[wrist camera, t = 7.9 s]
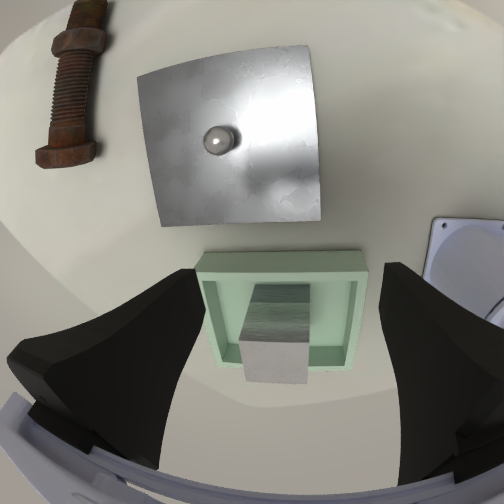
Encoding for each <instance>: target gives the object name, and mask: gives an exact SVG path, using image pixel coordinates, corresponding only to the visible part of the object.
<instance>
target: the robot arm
mask: <svg viewBox="0 0 504 504" xmlns="http://www.w3.org/2000/svg"><path fill="white" fill-rule="evenodd" d="M443 223H445V226H444V227H442V224H443ZM502 226H503V227H502ZM205 313H206V307H205V304H204V300H203V296H202V293H201V289H200V285H199V281H198V278H197V274H196V270H195V269H180V270H178V271H176V272H174V273H172V274H171V275H169V276H167V277H166V278H164V279H163V280H161V281H159V282H158V283H156V284H155V285H153V286H152V287H150V288H149V289H147V290H145V291H144V292H142V293H141V294H139V295H137V296H136V297H134V298H132V299H131V300H129V301H127V302H126V303H124V304H122V305H121V306H119V307H117V308H115V309H113V310H111V311H109V312H107V313H105V314H103V315H101V316H99V317H97V318H95V319H92V320H90V321H87V322H85V323H82V324H80V325H77V326H75V327H72V328H69V329H66V330H63V331H59V332H56V333H52V334H48V335H44V336H39V337H34V338H29V339H24V340H22V341H21V342H20V343H19V344H18V345H17V346H16V347H15V349H13V351H12V352H11V353H10V354H9V355H8V357H7V364H8V365H9V368H10V369H11V371H12V372H13V374H14V375H15V376H16V378H17V379H18V380H19V381H20V383H21V384H22V385H23V386H24V387H25V389H26V390H27V391H28V392H29V393H30V394H31V395H32V397H34V399H35V400H36V402H35V403H34V405H32V404H31V403H30V402H29V401H27V400H26V399H25V398H23V397H22V396H21V395H19V394H18V393H17V392H13V393H12V395H11V396H10V397H9V399H8V400H7V402H6V403H5V404H4V406H3V407H2V409H1V410H0V447H1V449H2V450H3V451H4V452H5V454H6V455H7V456H8V457H9V458H10V460H11V461H12V463H13V464H14V465H15V466H16V468H17V469H18V470H19V471H20V472H21V474H22V475H23V476H24V477H25V479H26V480H27V481H28V482H29V483H30V484H31V485H32V487H33V488H34V489H35V490H36V491H37V492H38V493H39V494H40V495H41V496H42V497H43V498H44V499H45V500H46V501H47V502H48V503H49V504H164V503H162V502H160V501H158V500H156V499H154V498H152V497H150V496H148V495H147V494H145V493H143V492H141V491H138V490H136V489H134V488H131V487H129V486H128V485H127V483H126V481H127V482H129V483H131V484H134V485H136V486H139V487H141V488H144V489H146V490H149V491H152V492H155V493H158V494H160V495H164V496H166V497H170V498H173V499H176V500H179V501H183V502H187V503H190V504H504V221H500V220H482V219H458V218H436V219H435V220H434V221H433V224H432V230H431V237H430V243H429V248H428V254H427V259H426V264H425V269H424V273H423V278H422V277H420V276H419V275H418V274H416V273H415V272H414V271H412V270H411V269H410V268H408V267H407V266H405V265H404V264H402V263H401V262H392V263H385V266H384V274H383V281H382V288H381V295H380V301H379V313H380V320H381V325H382V330H383V334H384V337H385V341H386V344H387V348H388V351H389V355H390V358H391V362H392V365H393V369H394V373H395V377H396V382H397V387H398V396H399V405H400V421H401V454H400V455H401V456H400V468H399V478H398V485H397V486H396V487H391V488H385V489H379V490H373V491H365V492H356V493H345V494H329V495H287V494H269V493H260V492H251V491H243V490H235V489H230V488H224V487H218V486H213V485H208V484H204V483H199V482H194V481H191V480H187V479H183V478H179V477H176V476H172V475H169V474H165V473H162V472H159V471H156V470H158V469H159V459H160V453H161V446H162V440H163V435H164V430H165V426H166V421H167V417H168V413H169V409H170V405H171V402H172V398H173V395H174V392H175V388H176V385H177V382H178V380H179V377H180V375H181V372H182V370H183V368H184V366H185V363H186V361H187V359H188V357H189V355H190V353H191V350H192V348H193V346H194V344H195V342H196V339H197V337H198V335H199V333H200V330H201V327H202V324H203V320H204V316H205Z"/></svg>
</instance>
